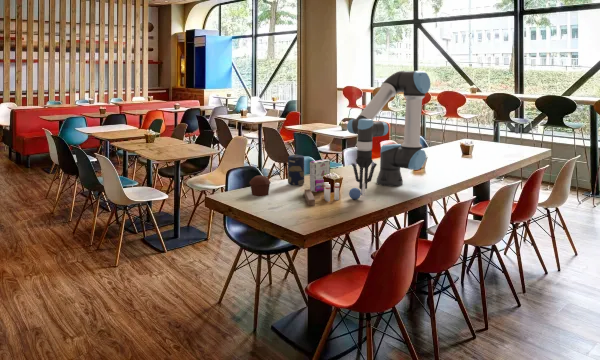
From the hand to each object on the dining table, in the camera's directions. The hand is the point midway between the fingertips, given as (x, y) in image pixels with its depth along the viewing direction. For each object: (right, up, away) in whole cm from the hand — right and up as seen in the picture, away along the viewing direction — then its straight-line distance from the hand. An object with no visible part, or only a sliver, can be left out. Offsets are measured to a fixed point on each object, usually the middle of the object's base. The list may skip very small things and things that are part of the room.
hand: (362, 195), depth 270 cm
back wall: (-27, -2, -2) cm, 28 cm away
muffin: (-54, 0, +10) cm, 55 cm away
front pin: (-14, -2, 0) cm, 14 cm away
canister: (-35, +5, +33) cm, 48 cm away
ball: (-4, +1, 0) cm, 4 cm away
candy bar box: (-21, +2, +21) cm, 30 cm away
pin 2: (-18, -3, -3) cm, 19 cm away
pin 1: (-19, -2, +2) cm, 19 cm away
